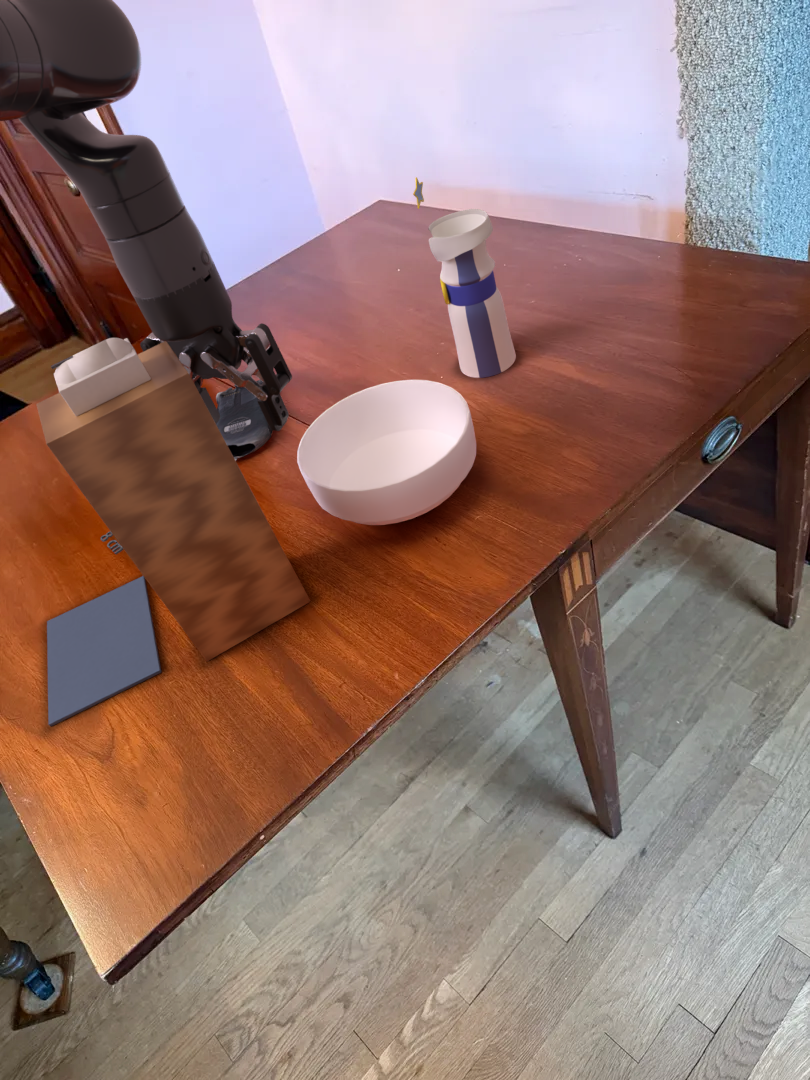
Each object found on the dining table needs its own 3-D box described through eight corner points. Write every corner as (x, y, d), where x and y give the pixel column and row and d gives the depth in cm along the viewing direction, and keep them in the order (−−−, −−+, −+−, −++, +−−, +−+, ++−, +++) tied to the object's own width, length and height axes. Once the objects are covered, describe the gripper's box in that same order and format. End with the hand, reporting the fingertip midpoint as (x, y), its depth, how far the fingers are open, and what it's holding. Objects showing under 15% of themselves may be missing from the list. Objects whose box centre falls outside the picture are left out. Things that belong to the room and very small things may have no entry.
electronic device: (219, 421, 112) (210, 467, 100) (209, 387, 109) (197, 430, 97) (280, 409, 113) (278, 454, 100) (271, 375, 110) (268, 416, 97)
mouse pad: (161, 672, 76) (159, 670, 76) (50, 726, 75) (48, 724, 74) (145, 577, 88) (143, 575, 88) (48, 623, 87) (46, 621, 86)
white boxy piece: (75, 417, 59) (48, 378, 56) (69, 398, 62) (43, 360, 59) (152, 379, 60) (129, 339, 58) (142, 362, 63) (119, 323, 60)
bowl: (516, 495, 81) (503, 433, 75) (354, 577, 78) (327, 519, 73) (441, 416, 95) (424, 359, 90) (302, 483, 93) (276, 429, 87)
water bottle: (459, 386, 99) (411, 197, 83) (455, 354, 105) (409, 172, 89) (521, 371, 98) (484, 176, 81) (513, 339, 104) (477, 152, 87)
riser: (206, 661, 75) (46, 444, 57) (187, 615, 81) (35, 403, 63) (310, 601, 78) (188, 373, 59) (284, 560, 83) (165, 340, 65)
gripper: (85, 299, 65) (171, 446, 76) (211, 289, 59) (286, 451, 69) (136, 258, 70) (211, 402, 80) (258, 245, 63) (322, 403, 74)
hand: (246, 424), depth 75 cm, fingers open, 8 cm apart
